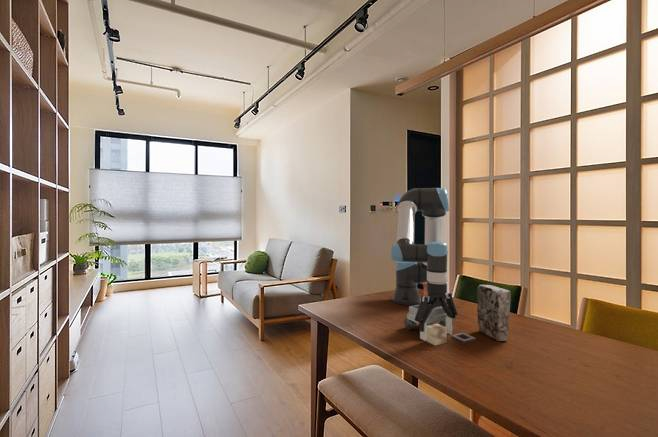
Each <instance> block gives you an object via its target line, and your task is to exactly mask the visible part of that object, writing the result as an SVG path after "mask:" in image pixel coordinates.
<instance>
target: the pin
mask: <svg viewBox="0 0 658 437" xmlns="http://www.w3.org/2000/svg"><path fill="white" fill-rule="evenodd" d="M422 287H423V296H428V292H427V282H424V283H423V284H422ZM430 305H431V304H430Z"/></svg>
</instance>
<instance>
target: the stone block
mask: <svg viewBox="0 0 658 437" xmlns="http://www.w3.org/2000/svg"><path fill="white" fill-rule="evenodd" d="M476 294H477V295H476V300H477V306H476V307H477V308H476V310H477V326H478V332H480V333H482V334H484V335H485V336H487V337H490V338H491V339H493V340H495V341H497V342H507V341H508V338H509V327H510V315H511V314H510V311H511V299H512V298H511V297H512V296H511V295H512V294H511V291H510V290H508V289H505V288H503V287H502V288H501V287H498V286H496V285H492V284H491V285H490V284H479V285H478V286H477V290H476Z"/></svg>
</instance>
